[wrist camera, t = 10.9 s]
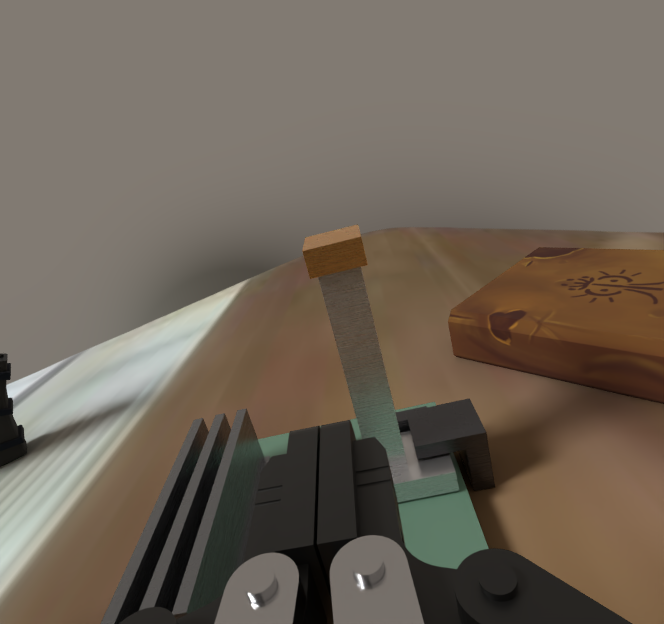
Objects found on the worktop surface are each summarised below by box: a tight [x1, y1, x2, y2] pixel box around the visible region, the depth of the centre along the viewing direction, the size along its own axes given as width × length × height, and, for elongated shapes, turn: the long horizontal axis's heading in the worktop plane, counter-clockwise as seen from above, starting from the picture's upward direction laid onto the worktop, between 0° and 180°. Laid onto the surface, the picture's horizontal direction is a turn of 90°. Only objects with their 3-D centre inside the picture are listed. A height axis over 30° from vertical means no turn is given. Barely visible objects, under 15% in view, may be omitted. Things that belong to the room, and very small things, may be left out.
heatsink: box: [101, 399, 495, 624], centre depth 30 cm, size 17×20×7 cm
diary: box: [448, 247, 664, 404], centre depth 45 cm, size 23×19×6 cm
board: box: [258, 402, 489, 569], centre depth 31 cm, size 22×20×2 cm
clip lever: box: [303, 225, 459, 502], centre depth 30 cm, size 5×6×17 cm
